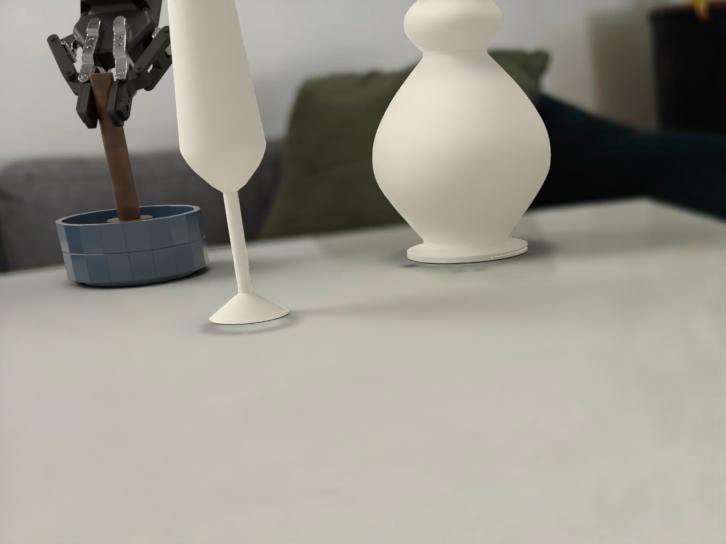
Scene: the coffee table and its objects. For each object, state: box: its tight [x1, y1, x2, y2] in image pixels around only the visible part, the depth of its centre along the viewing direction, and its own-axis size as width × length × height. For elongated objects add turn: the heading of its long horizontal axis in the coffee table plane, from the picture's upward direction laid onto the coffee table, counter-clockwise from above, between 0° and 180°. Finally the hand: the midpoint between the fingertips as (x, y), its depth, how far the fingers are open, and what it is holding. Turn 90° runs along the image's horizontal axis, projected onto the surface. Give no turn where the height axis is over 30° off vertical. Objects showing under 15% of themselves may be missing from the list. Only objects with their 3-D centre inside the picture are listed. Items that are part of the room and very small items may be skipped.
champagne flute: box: [166, 0, 290, 325], centre depth 89 cm, size 7×7×24 cm
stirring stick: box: [89, 71, 153, 223], centre depth 111 cm, size 5×5×14 cm
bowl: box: [55, 204, 210, 287], centre depth 115 cm, size 14×14×6 cm
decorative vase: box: [371, 0, 552, 264], centre depth 111 cm, size 18×18×25 cm
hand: (101, 121), depth 108 cm, fingers closed on stirring stick
